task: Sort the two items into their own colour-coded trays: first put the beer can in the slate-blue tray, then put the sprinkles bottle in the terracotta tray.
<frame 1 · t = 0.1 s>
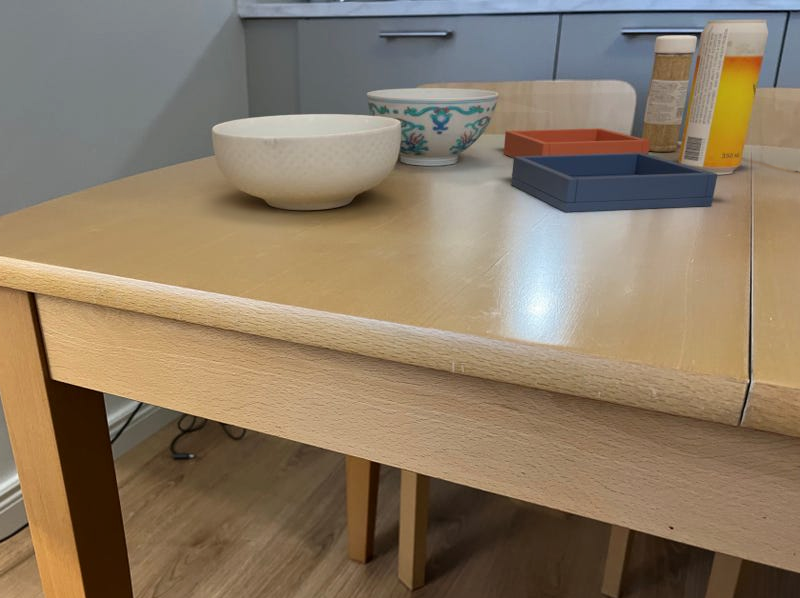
beer can: (706, 172, 82), on the table
chinaware: (428, 163, 90), on the table
terracotta tray: (571, 159, 90), on the table
sprinkles bottle: (657, 151, 96), on the table
blue tray: (604, 194, 71), on the table
cereal bowl: (307, 203, 69), on the table
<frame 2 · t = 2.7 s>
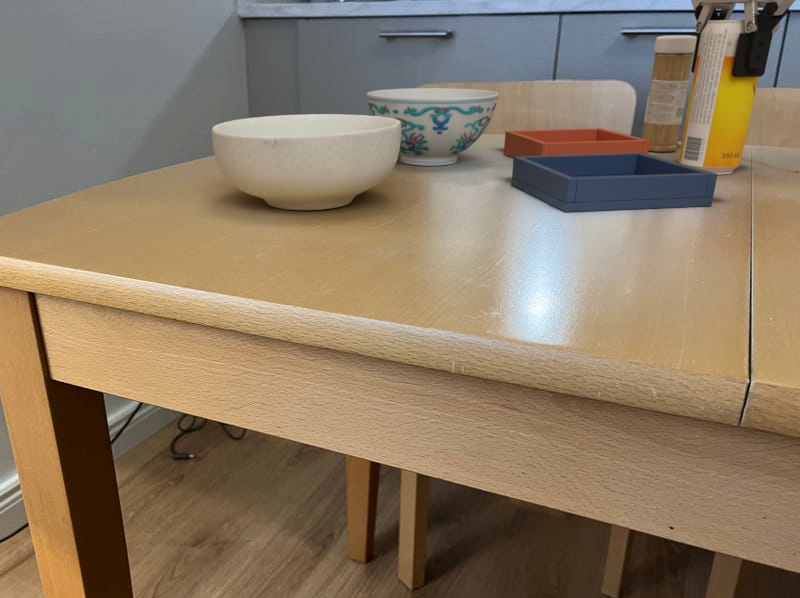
hand: (726, 73, 78), 10 cm above the table, tool pointing down, fingers closed on beer can, 6 cm apart
beer can: (706, 172, 82), on the table, touching gripper
everything else where it was.
when the fingers open (11 cm above the table, at t = 9.8 s): beer can stays where it is, resting on blue tray.
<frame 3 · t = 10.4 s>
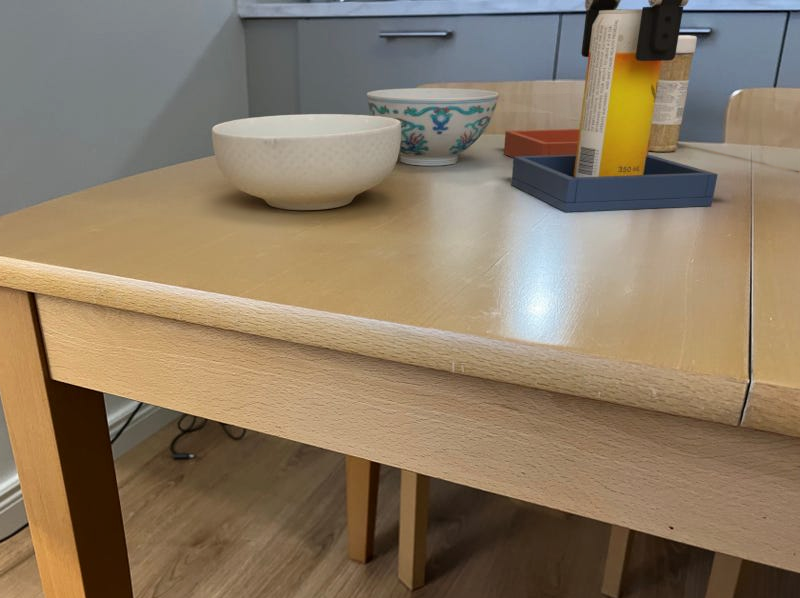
hand: (624, 58, 66), 12 cm above the table, tool pointing down, fingers open, 9 cm apart
beer can: (606, 188, 71), point 1 cm above the table, touching blue tray
everything else where it was.
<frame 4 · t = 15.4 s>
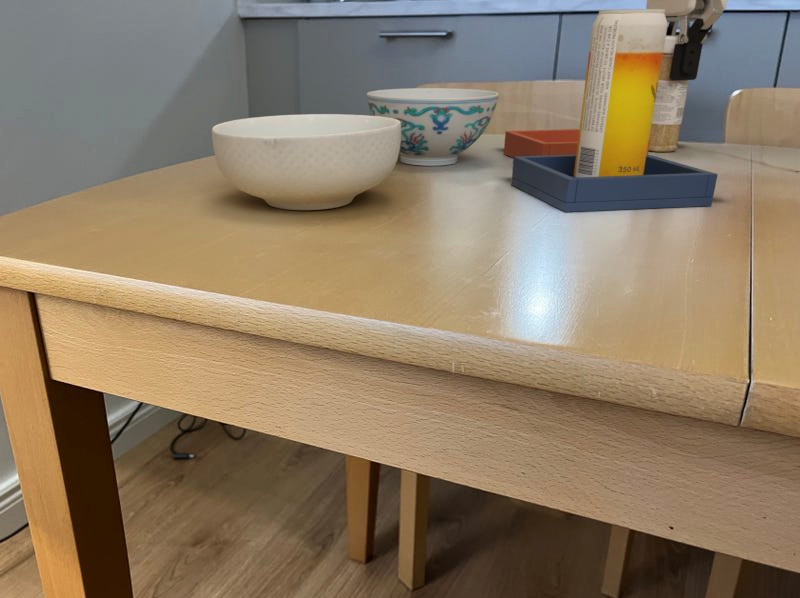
hand: (670, 76, 92), 9 cm above the table, tool pointing down, fingers closed on sprinkles bottle, 4 cm apart
sprinkles bottle: (657, 151, 96), on the table, touching gripper
everything else where it was.
when the fingers open (10 cm above the table, at t = 22.0 s): sprinkles bottle stays where it is, resting on terracotta tray.
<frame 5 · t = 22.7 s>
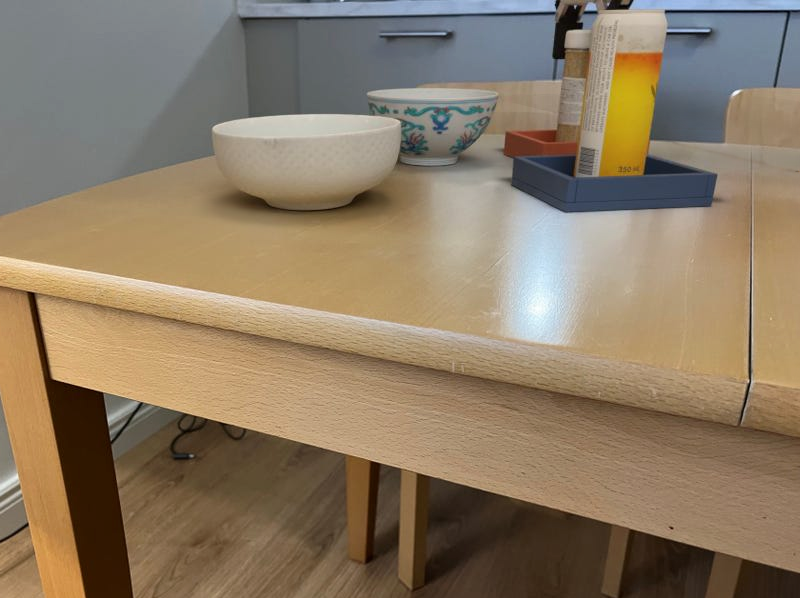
hand: (584, 60, 85), 11 cm above the table, tool pointing down, fingers open, 9 cm apart
sprinkles bottle: (572, 154, 90), point 1 cm above the table, touching terracotta tray
everything else where it was.
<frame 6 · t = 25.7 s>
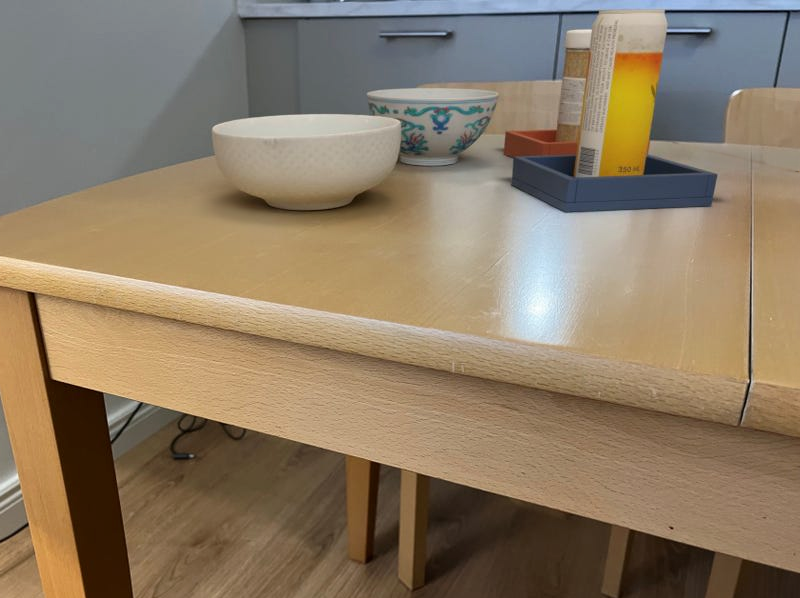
nothing on the table moved.
at the end: beer can inside the target area in the blue tray (0.1 cm from its centre), point 0.6 cm above the blue tray's base; sprinkles bottle inside the target area in the terracotta tray (0.0 cm from its centre), point 0.6 cm above the terracotta tray's base; sprinkles bottle tilted 0° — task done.
